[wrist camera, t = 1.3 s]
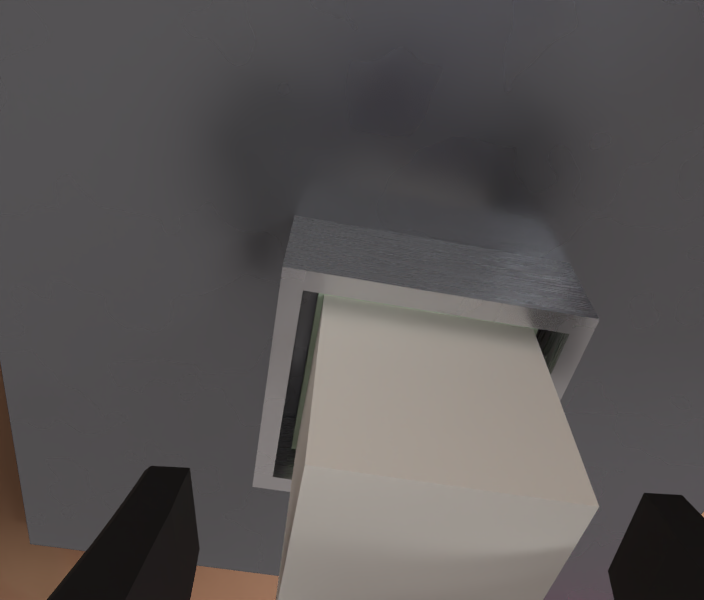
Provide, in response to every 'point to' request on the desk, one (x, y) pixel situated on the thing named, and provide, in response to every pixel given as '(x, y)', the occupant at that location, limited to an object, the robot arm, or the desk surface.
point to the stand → (340, 235)
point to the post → (428, 461)
